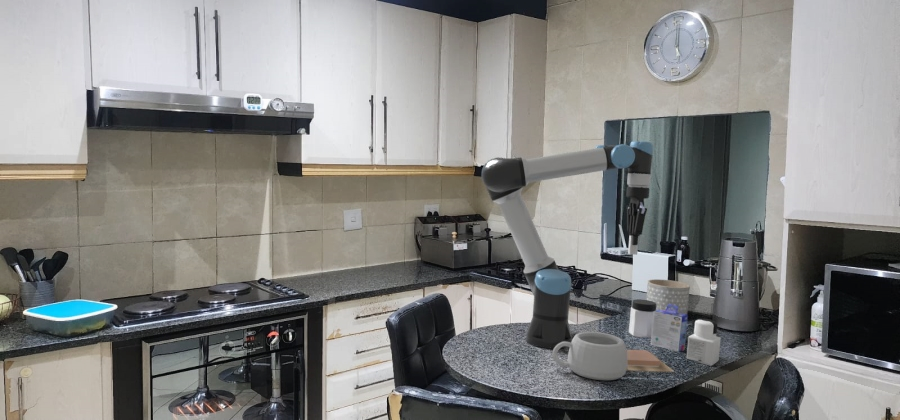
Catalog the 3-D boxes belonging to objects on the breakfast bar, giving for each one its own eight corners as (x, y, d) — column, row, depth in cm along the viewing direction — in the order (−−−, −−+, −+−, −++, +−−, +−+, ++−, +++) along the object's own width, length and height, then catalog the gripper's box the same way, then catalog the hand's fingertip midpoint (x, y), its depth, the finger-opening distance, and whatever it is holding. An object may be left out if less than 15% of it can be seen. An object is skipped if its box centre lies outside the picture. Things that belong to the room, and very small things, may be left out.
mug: (616, 363, 183) (619, 331, 182) (634, 384, 166) (637, 348, 165) (546, 360, 182) (548, 328, 181) (557, 381, 165) (559, 345, 164)
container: (693, 355, 197) (697, 315, 196) (718, 361, 192) (722, 320, 191) (685, 360, 191) (689, 319, 190) (711, 366, 186) (715, 325, 185)
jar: (642, 339, 211) (645, 305, 210) (624, 333, 218) (627, 300, 217) (659, 336, 216) (662, 303, 215) (640, 330, 223) (643, 298, 222)
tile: (614, 354, 190) (626, 365, 180) (615, 349, 190) (627, 359, 180) (646, 355, 190) (659, 366, 180) (646, 350, 190) (659, 360, 180)
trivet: (621, 372, 176) (621, 370, 176) (601, 352, 194) (601, 350, 194) (674, 373, 177) (674, 371, 177) (649, 353, 195) (650, 352, 195)
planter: (689, 320, 243) (692, 289, 242) (646, 315, 247) (649, 284, 246) (684, 311, 259) (687, 282, 258) (644, 306, 263) (646, 277, 262)
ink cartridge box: (685, 350, 201) (689, 307, 200) (679, 353, 197) (683, 310, 196) (656, 343, 208) (660, 301, 207) (649, 346, 204) (653, 303, 202)
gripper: (656, 188, 203) (650, 257, 205) (641, 186, 216) (635, 251, 218) (634, 186, 202) (628, 256, 204) (621, 185, 215) (615, 250, 217)
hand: (632, 254), depth 211 cm, fingers closed
